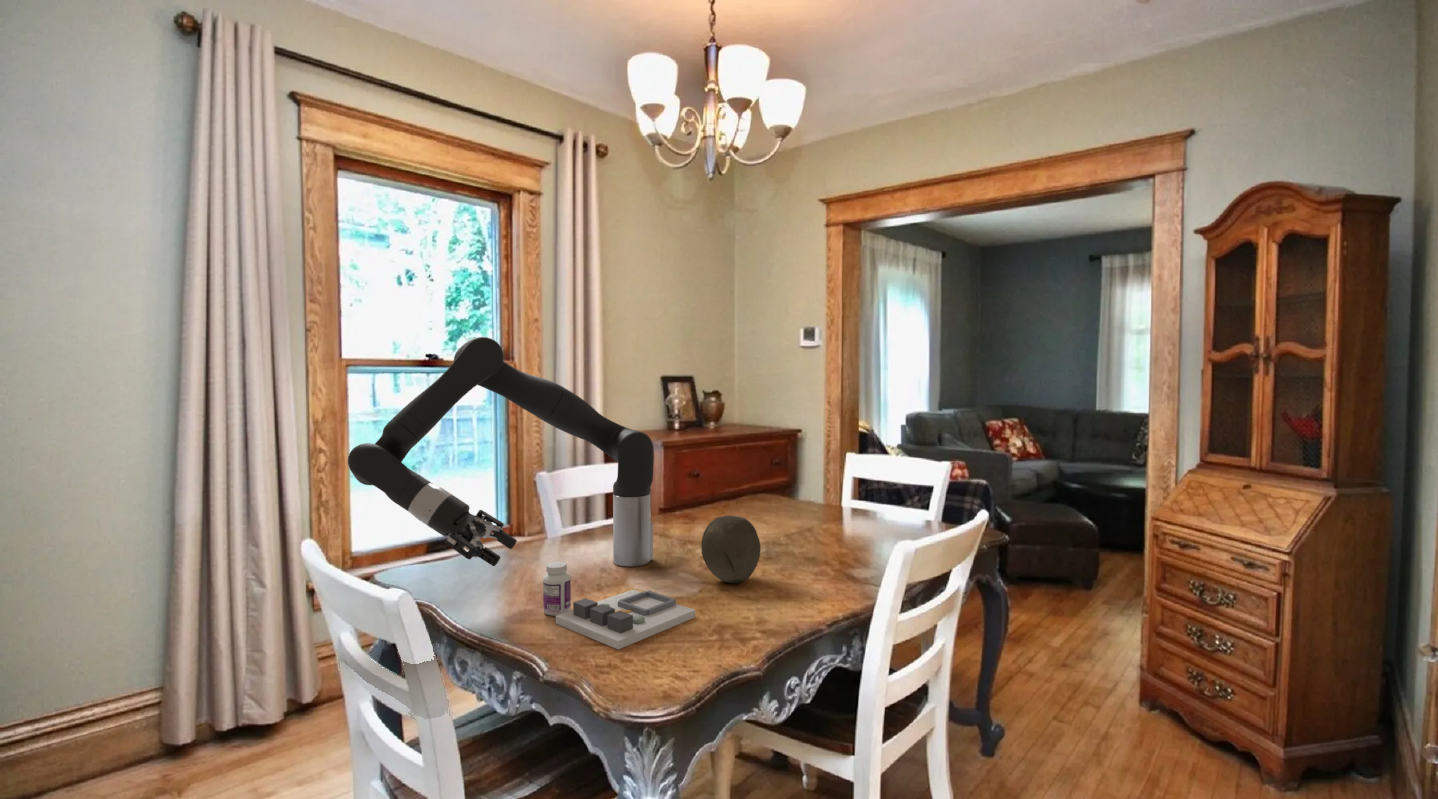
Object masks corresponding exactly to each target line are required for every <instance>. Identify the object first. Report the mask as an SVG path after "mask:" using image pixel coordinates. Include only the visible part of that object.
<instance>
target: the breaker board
mask: <svg viewBox="0 0 1438 799" xmlns="http://www.w3.org/2000/svg"><path fill="white" fill-rule="evenodd" d="M572 603H573V604H572V606H573V609H572V610H571V609H570V611H568V612H565V613H562V614H559V615H557V616H555V624H556V625H558V626H561V627H563V628H566V629H568V630H570V631H573V632H575V633H578V634H580V635H582V636H585V637H587V638H589V639H592V640H593V641H594V640H595V641H597V642H598V643H601V644H603V645H607V646H609V647H611V648H614V649H616V650H621V649H623V648H625V647H628V646H630V645H633V644H634V643H635V644H636V643H637V642H640V641H642V640H644V639H646V638H647V639H648V638H649V637H652V636H654V635H657V634H659V633H661V632H663V631H666V630H668V629H671V628H673V627H675V626H678V625H680V624H683V623H685V622H687V621H690V620H692V619H695V618H696V610H695V609H694V608H690V607H688V606H684V605H681V604H678V603H677V598H673V597H671V596H667V595H664V594H662V593H661V594H660V593H658V592H656V591H655V592H654V591H652V590H647V591H645V590H644V591H638V590H636V589H631V590H628V591H625V592H622V593H619V594H616V595H614V596H610V597H607V598H604V599H601V600H598V601H595V600H591V599H589V598H588V597H587V598H586V597H585V598H582V599H579V600H576V601H572Z"/></svg>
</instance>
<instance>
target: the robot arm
mask: <svg viewBox="0 0 1438 799" xmlns="http://www.w3.org/2000/svg"><path fill="white" fill-rule="evenodd" d="M504 358H505V357H504V350H503V348H502V347H501V344H500V343H499V342H497V341H496V340H494V339H493V338H491V337H487V336H477V337H474V338H471V339H468V340H467V341H466V342H465V343H464V344H462V345H461V347H459V348H458V349H457V351H456V352H455V354H454V356H453V362H452V364H451V365H450V366H449V367H448V368H447V369H446V371H444V372H443V373H442V374H441V375H440V376H439V377H438V378H437V379H436V380H435V381H433V383H432V384H431V385H429V386H428V387H427V388H426V389H425V390H423V391H422V392H421V393H420V394H418V395H417V396H416V397H414V398H413V400H411V401H410V402H409V403H408V404H406V405H405V406H404V407H403V408H402V409H401V410H400V411H399V412H398V413H396V415H394V417H392V419H391V420H389V421H388V422H387V423H386V425H385V426H384V427H383V429H382V434H381V435H380V436H381V437H379V439H378V440H376V442H374V443H371V442H369V443H368V442H365V443H362V444H358V445H355V447H354V448H352V449H351V451H350V452H349V454H348V457H347V464H348V468H349V471H350V472H351V473H352V475H353V476H354V478H355V479H356V480H357V481H358V482H359V483H361V484H362V485H365V486H374V487H375V488H377V489H378V490H380V491H381V492H383V493H384V494H385V495H386V496H387V498H389V499H390V500H391V501H392V502H393V503H394V504H396V505H398V506H399V507H401V508H403V510H406V511H407V512H408V513H410V514H411V515H412V516H414V518H416V519H417V520H418V521H420V522H421V523H422V524H424V525H426V526H427V527H428V528H430V529H432V530H433V531H435V532H436V533H438V534H440V535H441V536H443V537H445V538H447V539H446V540H445V542H444V543H445V545H447V546H448V547H450V548H451V549H453V550H454V551H455V552H456V553H458V554H460V555H461V556H463V557H464V558H465V559H467V560H472V559H473V558H480V559H481V560H483V561H484V562H486V563H487V564H488V565H491V567H492V566H493V567H495V566H497V565H498V564H499V562H500V560H501V556H500V555H499V554H498V553H495V551H493V550H491V549H490V548H488V547H486V546H484V544H483V543H482V540H481V539H487V538H488V539H489V538H490V539H493V540H496V542H498V543H500V544H501V545H503V546H504V547H506V548H507V549H509V550H511V549H513V548H514V547H515V545H516V544H517V541H518V540H517V539H516V538H515V537H513V536H512V535H510V534H508V533H507V532H506V531H504V529H503V528H504V522H502V521H501V520H499V519H497V518H496V517H494V516H493V515H491V514H490V513H488V512H486V511H485V510H482V509H479V510H478V511H477V513H476V514H475V515H474V514H472V513H471V512H470V506H469V505H468V503H466V502H464V501H463V500H461V499H460V498H458V497H456V496H455V495H453V494H452V493H450V492H449V491H447V490H446V489H444V488H443V487H441V486H439V485H437V484H434V483H433V482H431V481H430V480H428V479H426V478H425V477H423V476H422V475H420V474H418V473H417V472H416V471H413V470H412V469H411V468H409V467H407V466H406V465H405V464H404V463H403V460H404V459H405V458H406V456H407V455H408V453H409V452H410V451H411V449H412V448H414V447H415V446H416V445H417V444H418V443H419V442H420V441H422V439H423V438H424V437H425V436H426V435H427V434H428V433H430V431H431V430H432V429H433V428H434V427H435V426H436V425H438V423H439V422H440V421H441V420H442V419H443V418H444V416H445V415H447V414H448V412H449V411H450V410H452V408H453V407H454V406H455V405H456V404H458V402H459V401H460V400H461V399H462V398H463V397H464V396H465V395H467V394H468V393H469V392H470V391H472V390H473V389H474V388H475V387H476V386H479V387H482V388H483V389H486V390H487V391H488V390H489V391H491V392H493V393H494V394H495V393H496V394H497V395H500V396H502V397H503V398H506V399H507V400H509V401H510V402H511V403H513V404H515V405H517V406H518V407H520V408H521V409H523V410H525V411H527V413H530V414H531V415H533V416H535V417H536V418H539V420H542V421H543V422H545V423H547V424H549V425H551V426H552V427H554V428H556V429H558V430H560V431H562V432H564V433H566V434H569V435H571V436H573V437H576V438H577V439H578V438H579V439H581V440H584V441H586V442H588V443H590V444H591V445H593V446H595V447H596V448H597V449H599V450H600V451H602V452H603V453H605V454H606V455H607V456H608V457H610V458H611V459H612V460H613V461H615V462H616V463H617V478H616V481H615V482H613V485H612V487H613V488H612V489H613V490H612V501H613V502H612V508H613V509H612V510H613V511H612V513H613V514H612V516H613V517H612V521H613V522H612V526H613V528H612V530H613V531H612V532H613V533H612V534H613V537H612V539H613V540H612V542H613V543H612V544H613V546H612V547H613V548H612V552H613V553H612V554H613V555H612V556H613V558H612V560H613V561H612V562H613V564H615V565H618V566H620V567H621V566H622V567H641V566H644V565H647V564H648V563H650V562H651V561H652V560H654V523H653V522H652V521H651V487H652V484H653V481H654V463H655V462H654V461H655V457H654V456H655V455H654V454H655V451H654V443H653V440H652V439H651V437H649V435H647V434H646V433H645V432H643V431H639V430H635V429H631V428H629V427H625V426H624V425H621V424H619V423H617V422H615V421H612V420H611V419H608V418H607V417H605V416H603V415H602V414H601V413H600V412H598V411H597V410H596V409H595V408H594V407H593V406H591V404H589V403H588V402H587V401H586V400H584V399H583V398H582V397H580V396H578V394H576V393H575V392H572V391H571V390H569V389H567V388H565V387H564V386H562V385H561V384H558V383H557V382H554V381H552V380H549V379H546V378H543V377H539V376H537V375H533V374H530V373H527V372H524V371H521V370H519V369H517V368H516V367H514V366H512V365H510V364H509V363H507V362H506V361H505V360H504ZM493 523H494V524H493Z"/></svg>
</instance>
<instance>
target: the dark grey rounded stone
mask: <svg viewBox="0 0 1438 799" xmlns="http://www.w3.org/2000/svg"><path fill="white" fill-rule="evenodd" d="M700 548H701V554H702V558H703V562H704V563H705V565H706V567H707V569H708V570H709V571H710V572H711V574H713V575H714V576H715V577H716V578H718V579H719V580H721V581H722V582H725V583H728V584H738V583H742V582H745V581H746V580H748V579H749V578H750V577H751V576H752V574H753V573H754V572H755V570H756V568H757V566H758V564H759V562H760V561H759V560H760V556H761V542H760V538H759V536H758V532H757V530H756V527H755V526H754V525H753V524H752V523H751V522H750V520H748V519H747V518H746V517H743V516H737V515H736V516H735V515H722V516H719V517H715V518H714V519H712V520H711V521H710V522H709V524H708V525H707V526H706V528H705V529H704V532H703V533H702V538H701V546H700Z"/></svg>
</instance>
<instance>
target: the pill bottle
mask: <svg viewBox="0 0 1438 799" xmlns="http://www.w3.org/2000/svg"><path fill="white" fill-rule="evenodd" d="M545 568H546V574H545V575H544V576H543V579H542V584H543V585H542V589H543V590H542V591H543V592H542V594H543V595H542V596H543V598H542V599H543V600H542V601H543V613H544V614H545V615H548V616H552V617H553V616H554V617H556V616H557V615H559V614H562V613H565V612H568V611H571V609H572V608H571V607H572V600H571V599H572V598H571V597H572V596H571V595H572V594H571V593H572V592H571V590H572V589H571V586H572V585H571V583H572V582H571V576H570V574H569V573H568V571H567V570H568V565H567V562H564V561H553V562H549V563H548V564H546V566H545Z"/></svg>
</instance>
